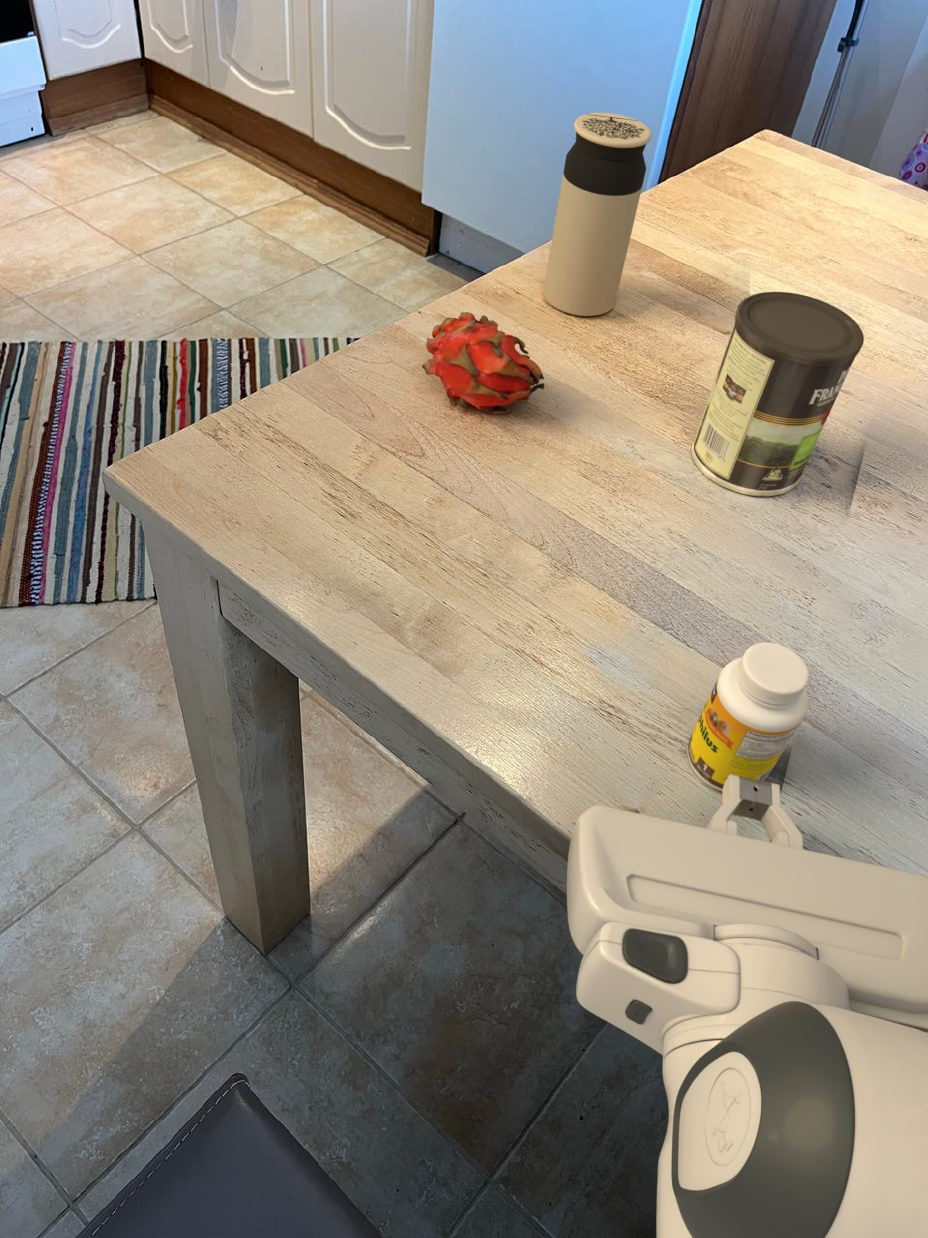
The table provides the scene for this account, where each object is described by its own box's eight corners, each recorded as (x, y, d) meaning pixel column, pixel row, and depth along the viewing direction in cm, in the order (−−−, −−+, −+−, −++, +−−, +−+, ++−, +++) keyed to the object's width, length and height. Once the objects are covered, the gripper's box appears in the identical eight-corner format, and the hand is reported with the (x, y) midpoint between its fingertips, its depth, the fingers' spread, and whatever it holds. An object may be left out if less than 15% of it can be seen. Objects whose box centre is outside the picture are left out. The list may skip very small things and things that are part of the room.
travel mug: (610, 324, 101) (651, 149, 88) (537, 310, 102) (567, 134, 88) (617, 289, 106) (656, 119, 93) (548, 275, 107) (577, 105, 94)
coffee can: (818, 460, 88) (882, 323, 78) (773, 513, 82) (836, 373, 72) (720, 413, 92) (769, 276, 81) (670, 461, 86) (715, 320, 75)
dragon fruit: (418, 384, 93) (525, 440, 91) (392, 376, 85) (509, 437, 83) (456, 302, 91) (566, 358, 89) (433, 285, 83) (554, 347, 81)
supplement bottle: (681, 724, 66) (725, 625, 58) (760, 734, 66) (814, 637, 58) (687, 793, 62) (735, 697, 54) (771, 803, 62) (831, 709, 54)
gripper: (999, 1041, 44) (951, 793, 53) (567, 944, 45) (594, 717, 55) (936, 1084, 49) (902, 848, 58) (546, 994, 50) (574, 777, 59)
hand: (750, 784), depth 56 cm, fingers closed
